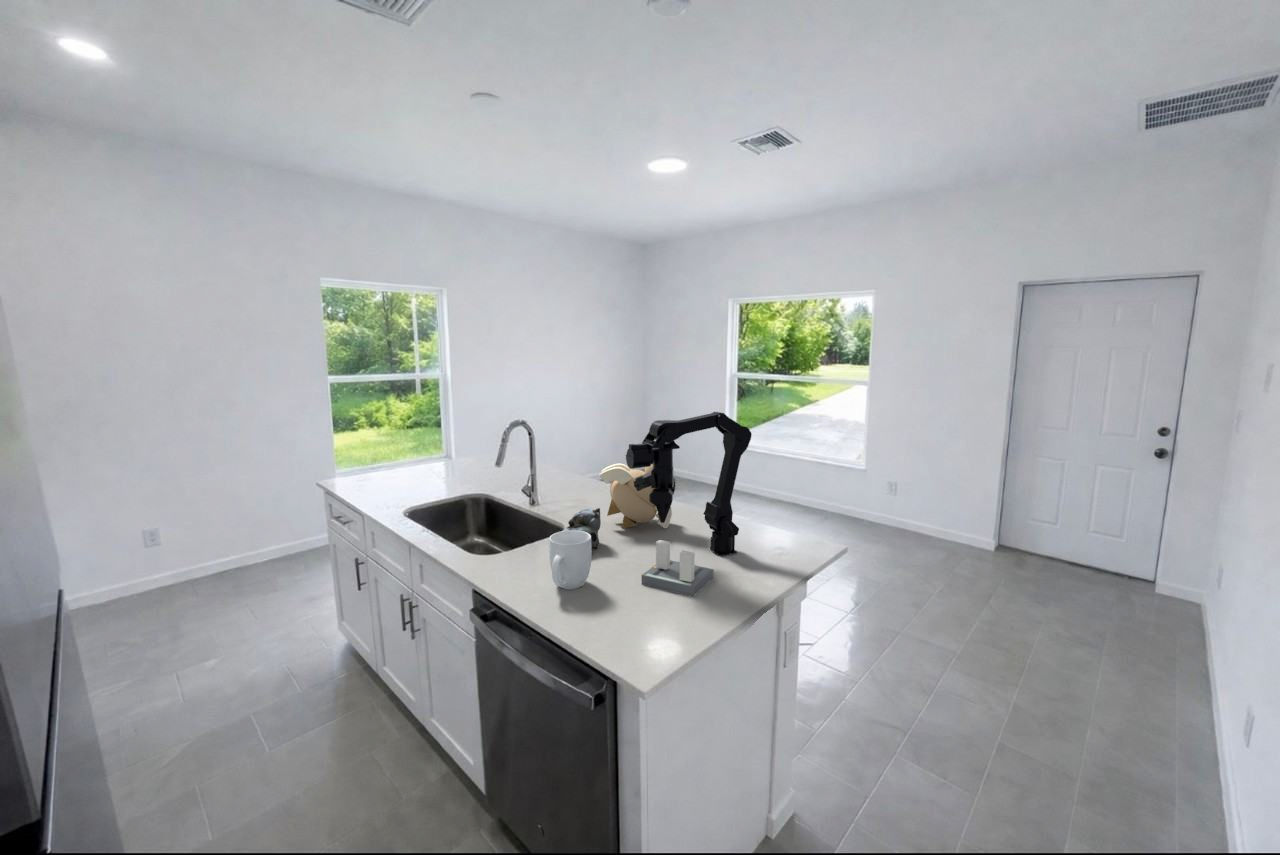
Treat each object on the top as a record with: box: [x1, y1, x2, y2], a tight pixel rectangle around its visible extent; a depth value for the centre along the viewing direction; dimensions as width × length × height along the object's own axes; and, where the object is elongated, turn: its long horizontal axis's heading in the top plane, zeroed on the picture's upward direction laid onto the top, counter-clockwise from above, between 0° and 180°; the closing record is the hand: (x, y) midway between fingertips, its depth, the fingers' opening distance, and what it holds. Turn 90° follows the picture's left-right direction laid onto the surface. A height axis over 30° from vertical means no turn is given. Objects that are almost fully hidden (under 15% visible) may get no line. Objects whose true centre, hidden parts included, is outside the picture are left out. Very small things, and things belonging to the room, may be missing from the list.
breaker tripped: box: [655, 539, 671, 570], centre depth 146 cm, size 2×3×7 cm, turn 60°
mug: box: [548, 530, 593, 590], centre depth 140 cm, size 15×11×13 cm
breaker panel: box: [641, 559, 714, 597], centre depth 145 cm, size 13×15×3 cm
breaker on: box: [679, 550, 696, 582], centre depth 138 cm, size 2×3×7 cm, turn 60°
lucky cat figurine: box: [563, 507, 602, 550], centre depth 171 cm, size 15×12×14 cm
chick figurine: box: [598, 462, 675, 529], centre depth 191 cm, size 30×28×23 cm
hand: (663, 517), depth 157 cm, fingers open, 9 cm apart
